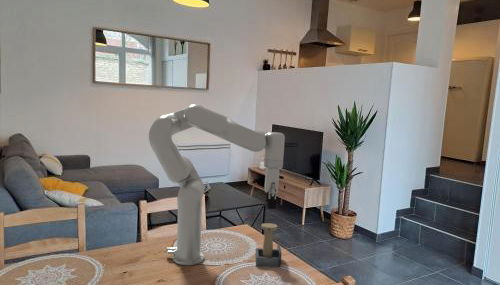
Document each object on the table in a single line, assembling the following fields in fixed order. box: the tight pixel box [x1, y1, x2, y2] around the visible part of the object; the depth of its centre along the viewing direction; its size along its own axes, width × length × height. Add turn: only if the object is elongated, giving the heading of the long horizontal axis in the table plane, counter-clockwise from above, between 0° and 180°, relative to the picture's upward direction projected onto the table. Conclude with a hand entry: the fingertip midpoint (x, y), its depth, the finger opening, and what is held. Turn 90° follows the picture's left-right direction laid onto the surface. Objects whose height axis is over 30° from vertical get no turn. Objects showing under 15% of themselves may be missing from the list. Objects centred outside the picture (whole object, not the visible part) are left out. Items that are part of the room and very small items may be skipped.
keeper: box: [254, 243, 282, 268], centre depth 146 cm, size 10×9×6 cm
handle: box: [260, 222, 278, 257], centre depth 145 cm, size 5×6×15 cm
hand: (270, 204), depth 143 cm, fingers open, 9 cm apart
